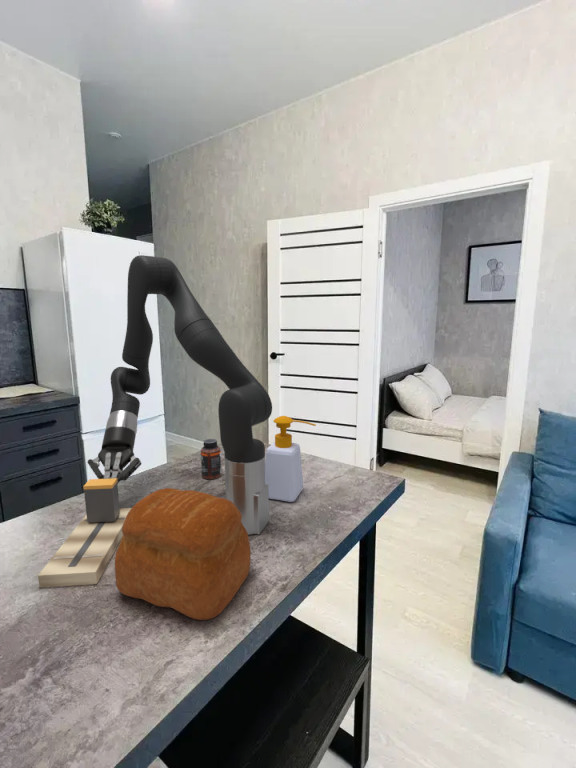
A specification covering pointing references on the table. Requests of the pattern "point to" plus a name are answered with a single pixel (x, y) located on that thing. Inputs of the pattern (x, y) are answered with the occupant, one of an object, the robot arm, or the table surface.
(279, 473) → the soap bottle
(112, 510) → the fader knob
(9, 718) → the table surface
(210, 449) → the supplement bottle
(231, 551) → the bread
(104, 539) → the grooved wooden slider track
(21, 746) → the table surface
